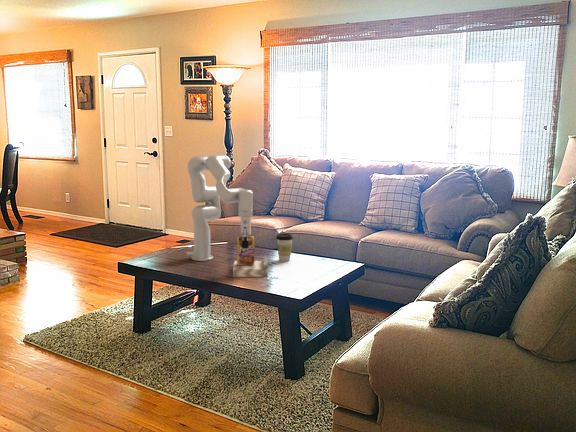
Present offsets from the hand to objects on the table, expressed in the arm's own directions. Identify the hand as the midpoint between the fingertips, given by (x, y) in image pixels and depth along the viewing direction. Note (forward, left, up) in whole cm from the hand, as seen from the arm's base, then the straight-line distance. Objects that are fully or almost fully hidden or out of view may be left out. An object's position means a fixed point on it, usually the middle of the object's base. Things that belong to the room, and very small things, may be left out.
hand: (245, 246), depth 305 cm
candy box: (0, 0, -10) cm, 10 cm away
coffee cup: (+22, +26, -14) cm, 37 cm away
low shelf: (+3, 0, -14) cm, 14 cm away
